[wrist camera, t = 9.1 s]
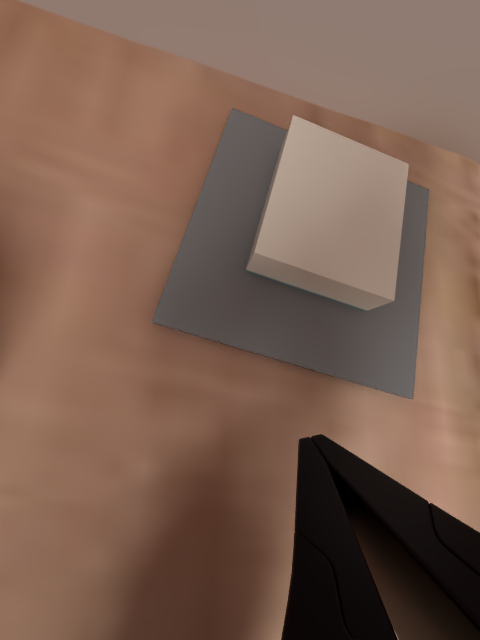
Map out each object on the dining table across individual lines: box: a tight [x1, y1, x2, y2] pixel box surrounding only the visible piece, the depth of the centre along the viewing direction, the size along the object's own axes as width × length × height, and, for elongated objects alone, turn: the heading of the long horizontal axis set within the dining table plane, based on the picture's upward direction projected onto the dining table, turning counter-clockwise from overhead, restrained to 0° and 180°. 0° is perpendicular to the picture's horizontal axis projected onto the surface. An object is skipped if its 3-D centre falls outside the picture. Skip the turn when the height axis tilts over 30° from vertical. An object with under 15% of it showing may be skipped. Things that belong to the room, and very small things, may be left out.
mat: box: [152, 108, 429, 399], centre depth 20 cm, size 20×20×1 cm
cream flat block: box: [246, 115, 409, 311], centre depth 18 cm, size 3×10×12 cm
